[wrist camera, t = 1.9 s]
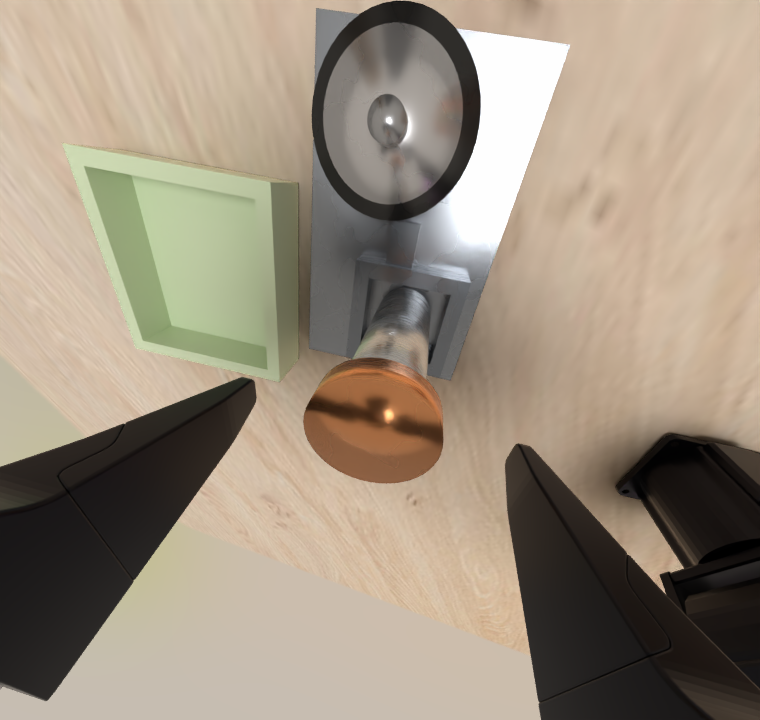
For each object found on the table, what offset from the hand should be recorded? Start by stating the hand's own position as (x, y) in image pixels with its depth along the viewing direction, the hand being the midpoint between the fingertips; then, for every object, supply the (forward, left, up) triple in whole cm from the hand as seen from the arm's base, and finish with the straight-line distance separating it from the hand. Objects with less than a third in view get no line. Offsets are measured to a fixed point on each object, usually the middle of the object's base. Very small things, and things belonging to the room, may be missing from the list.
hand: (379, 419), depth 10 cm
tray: (0, +13, -10) cm, 16 cm away
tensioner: (+4, +1, -10) cm, 11 cm away
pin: (0, 0, -9) cm, 9 cm away
